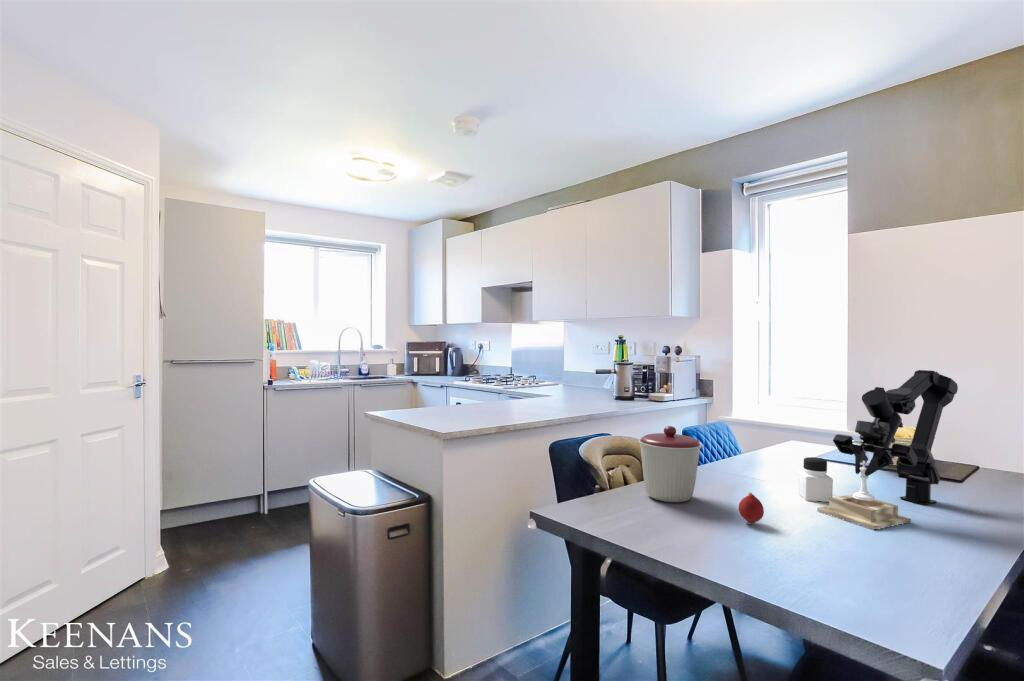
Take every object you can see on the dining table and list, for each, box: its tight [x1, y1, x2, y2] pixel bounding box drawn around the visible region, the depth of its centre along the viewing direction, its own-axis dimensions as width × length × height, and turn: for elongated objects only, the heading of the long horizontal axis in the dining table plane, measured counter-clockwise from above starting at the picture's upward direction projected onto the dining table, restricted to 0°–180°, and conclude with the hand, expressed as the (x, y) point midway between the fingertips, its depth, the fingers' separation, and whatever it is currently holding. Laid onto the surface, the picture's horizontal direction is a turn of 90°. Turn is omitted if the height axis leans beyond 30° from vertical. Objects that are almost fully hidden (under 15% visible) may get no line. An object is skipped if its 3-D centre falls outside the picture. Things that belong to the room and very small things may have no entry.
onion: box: [738, 491, 765, 525], centre depth 131 cm, size 6×6×8 cm
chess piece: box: [852, 461, 875, 501], centre depth 138 cm, size 5×5×10 cm
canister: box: [638, 425, 703, 503], centre depth 152 cm, size 18×18×21 cm
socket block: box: [816, 493, 912, 530], centre depth 138 cm, size 15×15×4 cm
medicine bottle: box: [797, 456, 834, 503], centre depth 154 cm, size 7×7×12 cm
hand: (861, 474), depth 137 cm, fingers closed on chess piece
